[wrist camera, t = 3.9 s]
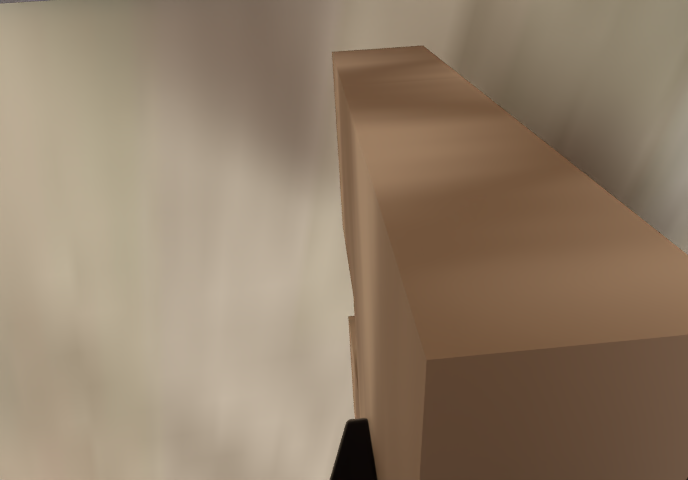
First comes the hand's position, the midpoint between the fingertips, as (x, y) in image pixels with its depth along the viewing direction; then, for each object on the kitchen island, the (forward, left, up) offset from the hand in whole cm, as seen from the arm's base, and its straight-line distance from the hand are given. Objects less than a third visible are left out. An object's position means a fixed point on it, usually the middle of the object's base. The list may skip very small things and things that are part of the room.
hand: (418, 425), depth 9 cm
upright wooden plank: (0, 0, -5) cm, 5 cm away
